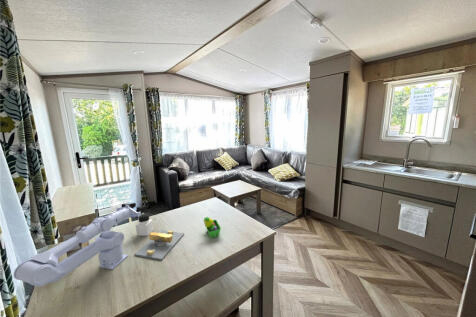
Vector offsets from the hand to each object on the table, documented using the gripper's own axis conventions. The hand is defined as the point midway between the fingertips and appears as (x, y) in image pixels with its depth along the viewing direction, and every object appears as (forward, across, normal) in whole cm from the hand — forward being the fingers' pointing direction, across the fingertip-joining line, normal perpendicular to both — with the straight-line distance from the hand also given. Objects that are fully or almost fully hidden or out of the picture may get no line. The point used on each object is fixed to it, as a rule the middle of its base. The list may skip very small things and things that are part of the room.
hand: (140, 205), depth 109 cm
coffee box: (-22, +18, +23) cm, 37 cm away
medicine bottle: (+5, +2, +20) cm, 21 cm away
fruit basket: (+16, -38, +17) cm, 45 cm away
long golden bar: (-2, -15, +17) cm, 23 cm away
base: (-2, -16, +19) cm, 25 cm away
